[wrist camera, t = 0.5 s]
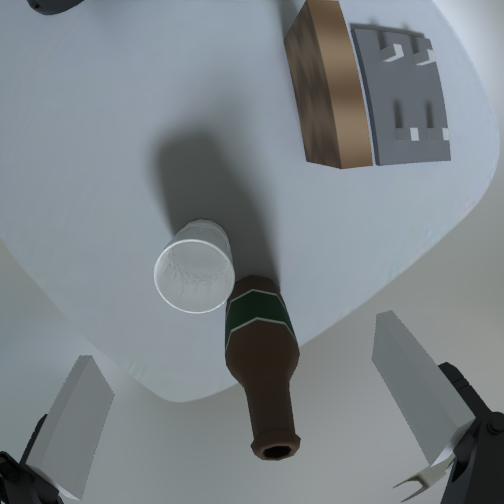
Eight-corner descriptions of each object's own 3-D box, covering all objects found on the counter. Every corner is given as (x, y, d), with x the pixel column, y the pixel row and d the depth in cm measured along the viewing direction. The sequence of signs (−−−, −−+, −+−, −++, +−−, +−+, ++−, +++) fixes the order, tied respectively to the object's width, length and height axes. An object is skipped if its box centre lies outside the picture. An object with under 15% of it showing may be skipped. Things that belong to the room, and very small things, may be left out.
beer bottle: (293, 292, 40) (349, 438, 17) (258, 330, 42) (281, 479, 19) (248, 262, 38) (271, 413, 15) (214, 304, 40) (203, 459, 17)
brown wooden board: (283, 41, 28) (306, -1, 17) (312, 40, 28) (346, 1, 17) (306, 161, 34) (341, 169, 23) (335, 157, 34) (380, 164, 23)
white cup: (237, 218, 36) (239, 244, 26) (229, 276, 38) (229, 317, 29) (174, 210, 35) (154, 234, 25) (171, 269, 37) (153, 308, 28)
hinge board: (350, 31, 28) (365, 19, 23) (425, 41, 28) (443, 33, 23) (375, 165, 34) (393, 168, 30) (445, 159, 34) (465, 163, 30)
